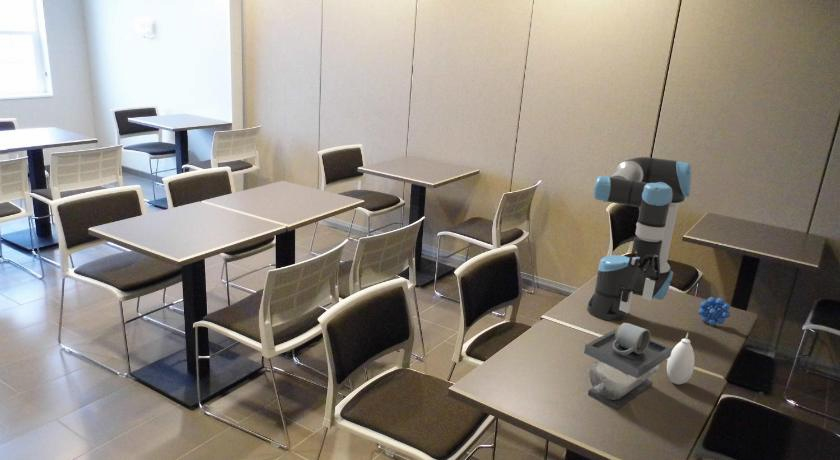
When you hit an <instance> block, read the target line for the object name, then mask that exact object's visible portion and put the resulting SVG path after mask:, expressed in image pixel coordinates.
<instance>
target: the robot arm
mask: <svg viewBox="0 0 840 460" xmlns="http://www.w3.org/2000/svg"><path fill="white" fill-rule="evenodd" d="M692 171H693V168H692V165H691V164H690V163H687V162H684V161H679V160H673V159H666V158H665V159H663V158H657V157H650V156H640V157H633V158H630V159H626V160H625V161H622V162H621V163H619V164H618V165H617V167H616V168H615V170H614V173H613V174H612V175H611V176H609V175H605V176H604V175H599V176H597V178H596V181H595V184H594V188H593V190H594V191H593V197H594V199H596V200H598V201H602V202H605V203H613V204H617V205H618V204H620V205H626V206H631V207H636V208H639V212H638V218H637V222H636V224H635V226H636V228H635V236H634V239H633V243H632V249H633V250H634V251H635V252H636V254H635V257H634V256H630V257H629V256H625V255H618V254H617V255H616V254H614V255H611V254H610V255H605V256H604V257H602V258H601V259H600V261H599V264H598V268H597V276H596V281H595V288H594V291H593V294H592V295H591V296H590V299H589V301H588V302H587V306H586V307H587V308H586V310H587V312H588V313H589V314H590V315H592V316H594V317H595V318H598V319H600V320H605V321H615V322H616V321H622V320H625V319H626V317H627V315H628V313H630V310H631V309H630V308H631V302H632V297H633V295H636V296H639V297H641V299H643V300H646V301H647V302H648V301H649V302H652V300H653V299H654V300H657V301H659V300H661V301H662V300H664V299H665V297H666V295H667V293H668V291H669V288H670V285H671V281H672V280H673V277H674V271H672V270H671V266H670V264H669V262H668V260H669V259H668V258H669V254H670V247H671V243H672V239H673V233H674V228H675V223H676V219H677V214H678V211H679V210H678V209H679V205H680V204H682V203H683V202H684V201H685V198H687V197H690V195H691V187H692V178H693V177H692V176H693V172H692Z"/></svg>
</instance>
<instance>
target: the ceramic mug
mask: <svg viewBox="0 0 840 460" xmlns="http://www.w3.org/2000/svg"><path fill="white" fill-rule="evenodd" d="M616 329H617V330H616V333H615V341H614V343H613V349H614V351H615V352H616V353H617V354H619V355H628V354H630V353H631V352H635V353H637V354H642V353H643V352H644V351H645V350H646V348H647V347H648V344H649V341H650V339H651V332H650V330H649V329H647V328H644V327H640V326H638V325H635V324H632V323H628V322H623V323H621V324H620V325H619V326H618V327H617V328H616ZM617 343H618V344H619V345H621V346H623V347H625V348H627V349H628V350H626V351H619V350H617V349H616V348H615V346H616V344H617Z"/></svg>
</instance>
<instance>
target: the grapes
mask: <svg viewBox="0 0 840 460" xmlns="http://www.w3.org/2000/svg"><path fill="white" fill-rule="evenodd" d="M699 305H700V308H699V309H698V311H697V313H698V314H699V316H701V318H700V319H701V321H702V322H703V323H707V322H708V324H709V325H710V326H715V325H717V324H719V325H722V324H723V325H724V323H725V322H726V319H728V318H730V316H731V313H730V311H729V310H730V308H731V305H730V304H729V303H726V302H725V300H724V298H721V297H718V298H715V297H713V296H710V297H708V298H707V300H704V301H701V302H700V304H699Z"/></svg>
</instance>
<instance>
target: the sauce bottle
mask: <svg viewBox="0 0 840 460" xmlns="http://www.w3.org/2000/svg"><path fill="white" fill-rule="evenodd" d="M688 337H689V332H687V333H686V335H685V338H682V339H681V340H680V341H679V342H678V343H677V344H675V346H674V347H673V348H672V352H671V356H670V357H669V358H668V359H667V362H666V373H667V378H668V379H669V380H670V381H671V382H672V383H673V384H674V385H682V384H685V383H687V382H688V381H689V380H690V378H691V377H692V376H693V373H694V369H695V364H696V363H695V359H696V358H695V353H694V348H693V346H692V344H691V340H690V339H688Z"/></svg>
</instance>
